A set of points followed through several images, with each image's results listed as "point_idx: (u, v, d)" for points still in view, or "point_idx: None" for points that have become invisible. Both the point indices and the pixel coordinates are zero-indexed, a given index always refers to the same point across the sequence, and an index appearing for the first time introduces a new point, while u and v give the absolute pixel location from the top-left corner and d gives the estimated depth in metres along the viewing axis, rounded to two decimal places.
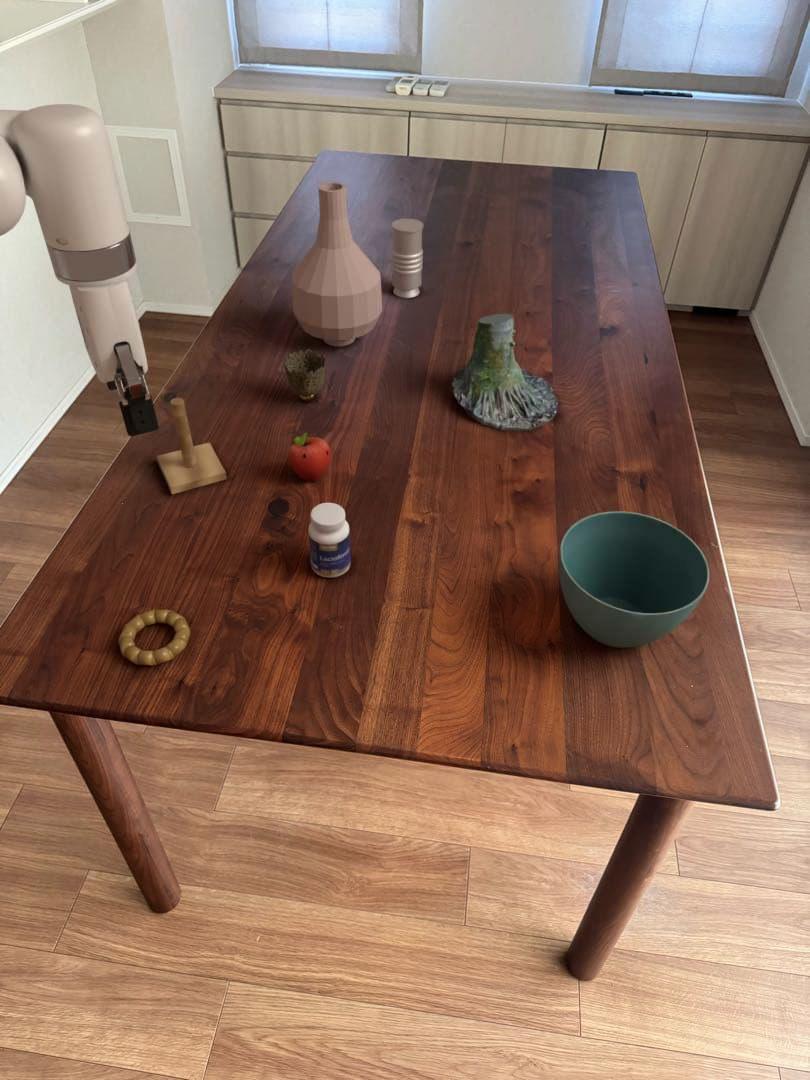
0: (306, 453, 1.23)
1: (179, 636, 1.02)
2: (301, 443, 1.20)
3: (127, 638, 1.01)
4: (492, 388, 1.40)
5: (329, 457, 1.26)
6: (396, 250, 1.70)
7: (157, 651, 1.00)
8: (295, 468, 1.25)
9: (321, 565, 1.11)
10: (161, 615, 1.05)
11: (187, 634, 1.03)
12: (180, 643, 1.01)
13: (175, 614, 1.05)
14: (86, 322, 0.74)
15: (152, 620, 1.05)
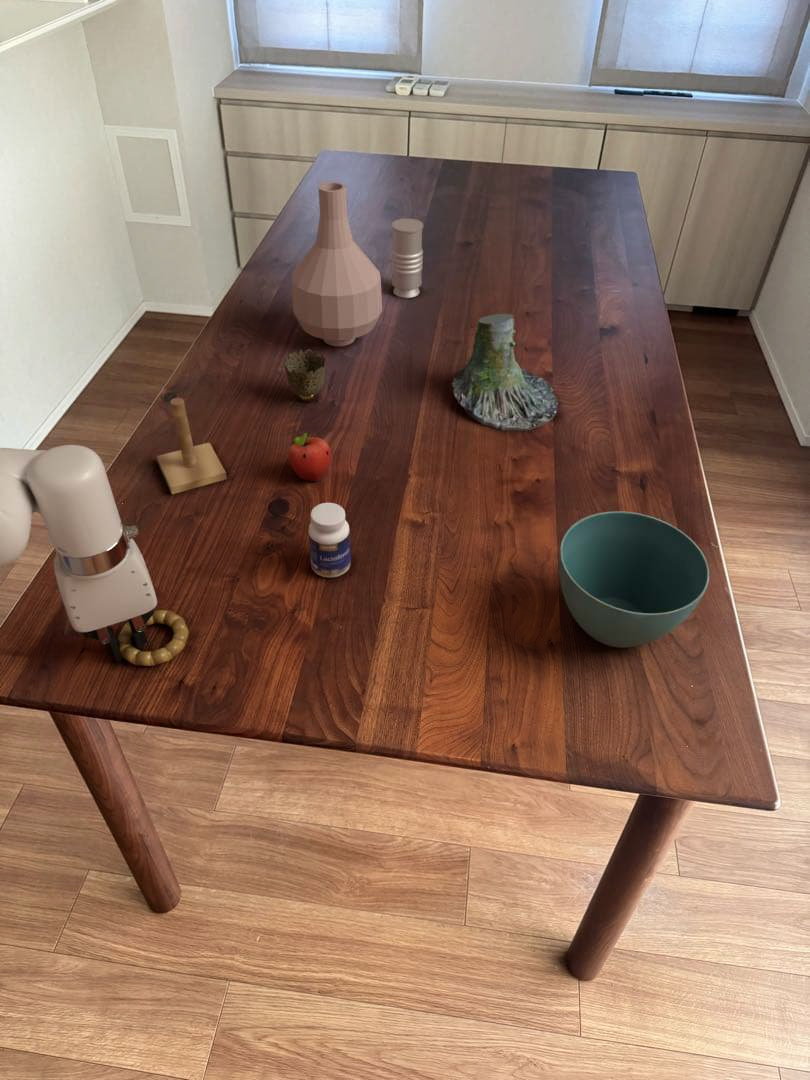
0: (306, 453, 1.23)
1: (177, 637, 1.02)
2: (301, 443, 1.20)
3: (125, 639, 1.01)
4: (492, 388, 1.40)
5: (329, 457, 1.26)
6: (396, 250, 1.70)
7: (155, 652, 1.00)
8: (295, 468, 1.25)
9: (321, 566, 1.11)
10: (159, 616, 1.04)
11: (185, 635, 1.03)
12: (178, 644, 1.01)
13: (173, 614, 1.04)
14: None
15: (150, 621, 1.04)
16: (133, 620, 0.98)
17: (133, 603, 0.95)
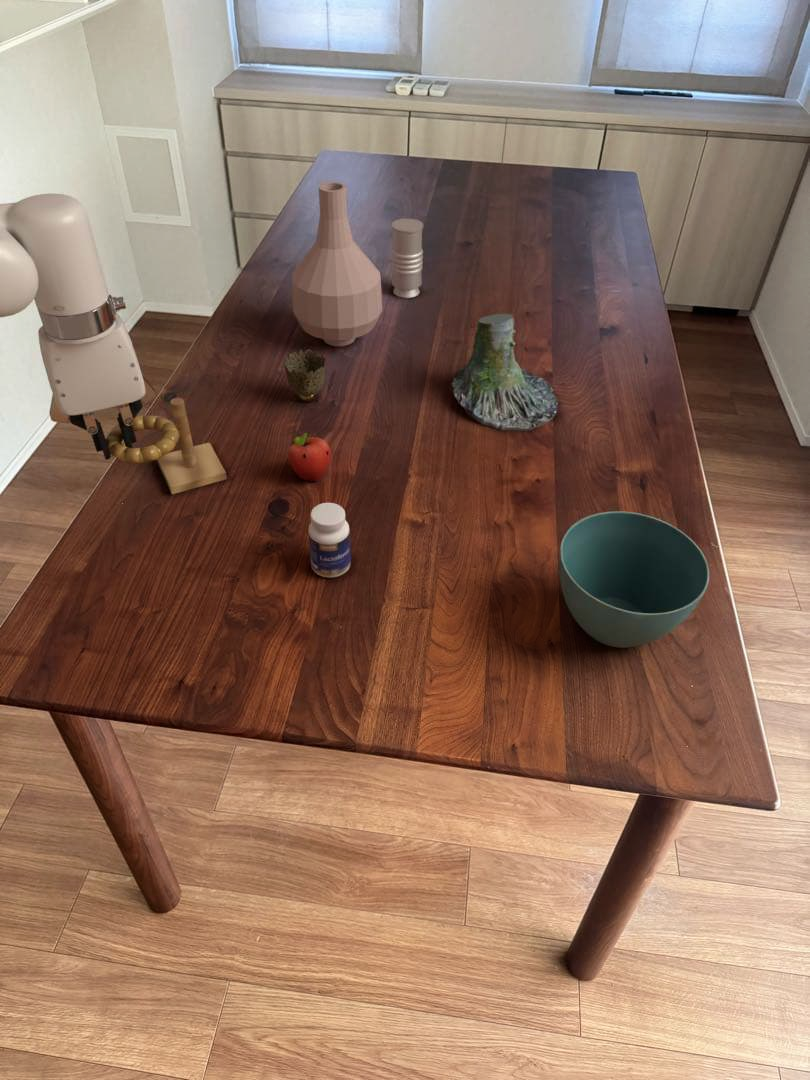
0: (306, 453, 1.23)
1: (167, 436, 0.99)
2: (301, 443, 1.20)
3: (114, 437, 0.99)
4: (492, 388, 1.40)
5: (329, 457, 1.26)
6: (396, 250, 1.70)
7: (144, 447, 0.97)
8: (295, 468, 1.25)
9: (321, 566, 1.11)
10: (150, 420, 1.02)
11: (176, 436, 1.00)
12: (168, 442, 0.99)
13: (164, 419, 1.02)
14: None
15: (141, 425, 1.02)
16: (121, 410, 0.95)
17: (120, 386, 0.92)
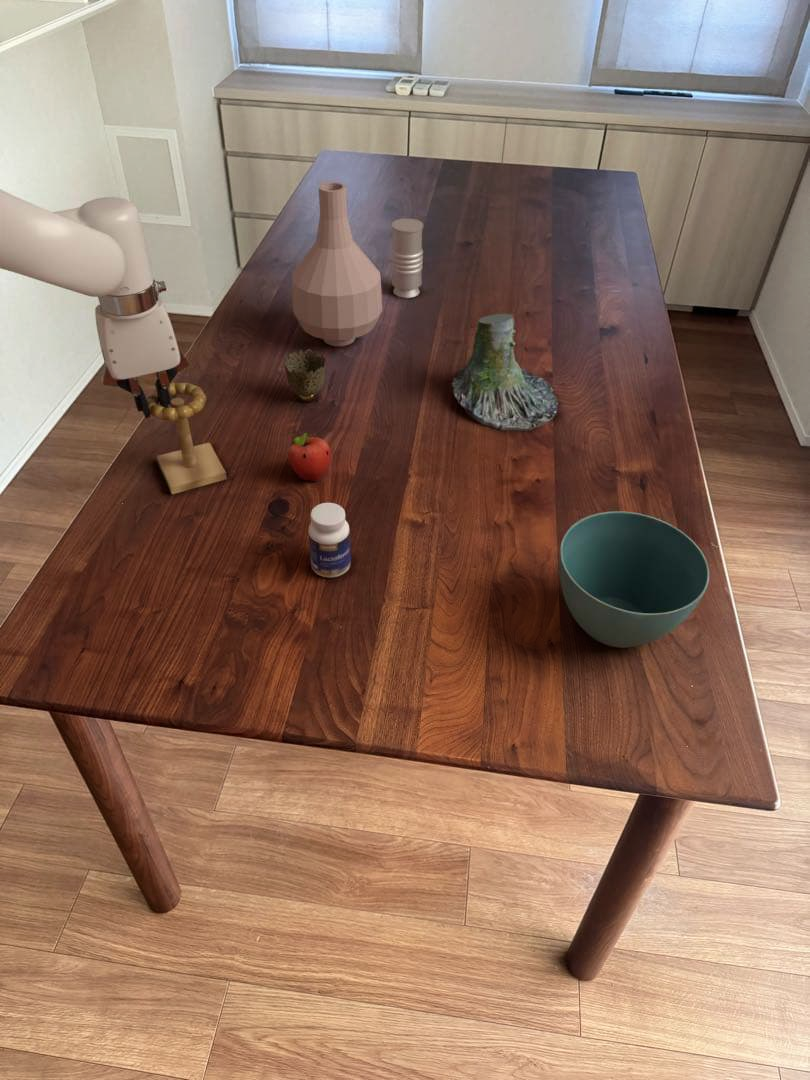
0: (306, 453, 1.23)
1: (197, 398, 1.19)
2: (301, 443, 1.20)
3: (153, 399, 1.19)
4: (492, 388, 1.40)
5: (329, 457, 1.26)
6: (396, 250, 1.70)
7: (179, 407, 1.17)
8: (295, 468, 1.25)
9: (321, 566, 1.11)
10: (181, 386, 1.22)
11: (204, 398, 1.20)
12: (198, 403, 1.19)
13: (193, 385, 1.22)
14: None
15: (173, 390, 1.22)
16: (160, 376, 1.15)
17: (160, 355, 1.12)
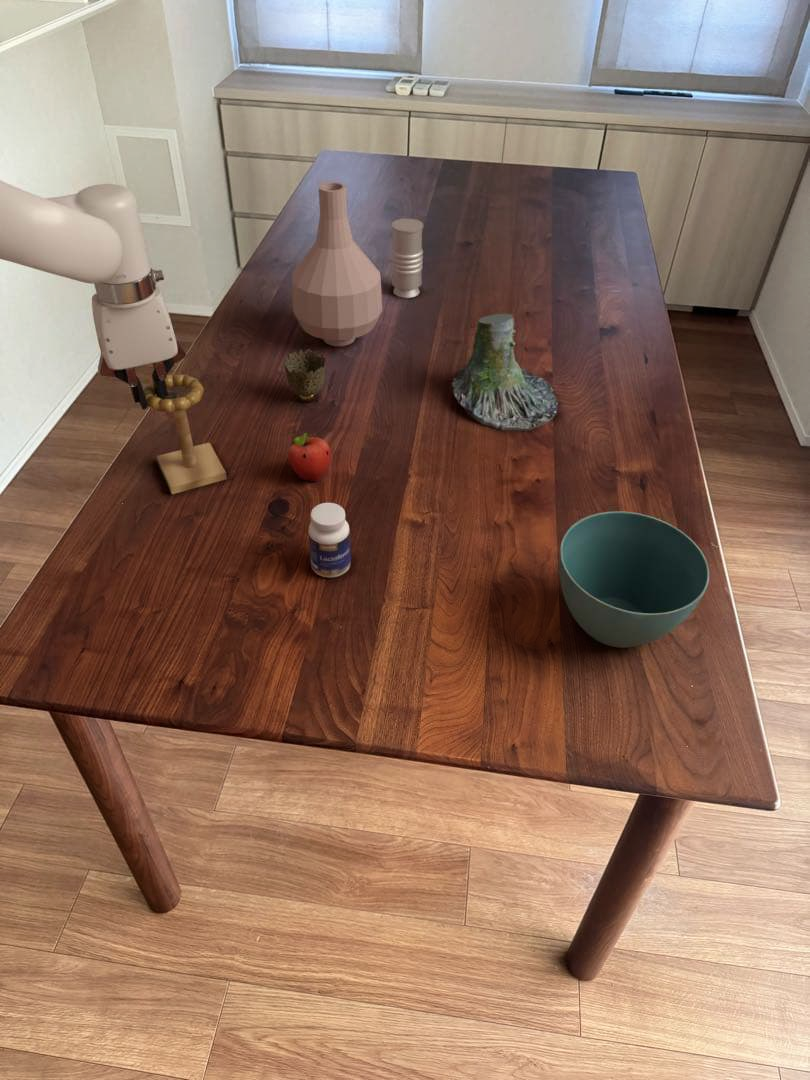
0: (306, 453, 1.23)
1: (194, 390, 1.18)
2: (301, 443, 1.20)
3: (150, 391, 1.18)
4: (492, 388, 1.40)
5: (329, 457, 1.26)
6: (396, 250, 1.70)
7: (176, 399, 1.16)
8: (295, 468, 1.25)
9: (321, 566, 1.11)
10: (178, 377, 1.21)
11: (201, 390, 1.19)
12: (195, 395, 1.18)
13: (190, 377, 1.21)
14: None
15: (170, 382, 1.21)
16: (157, 366, 1.14)
17: (158, 345, 1.11)
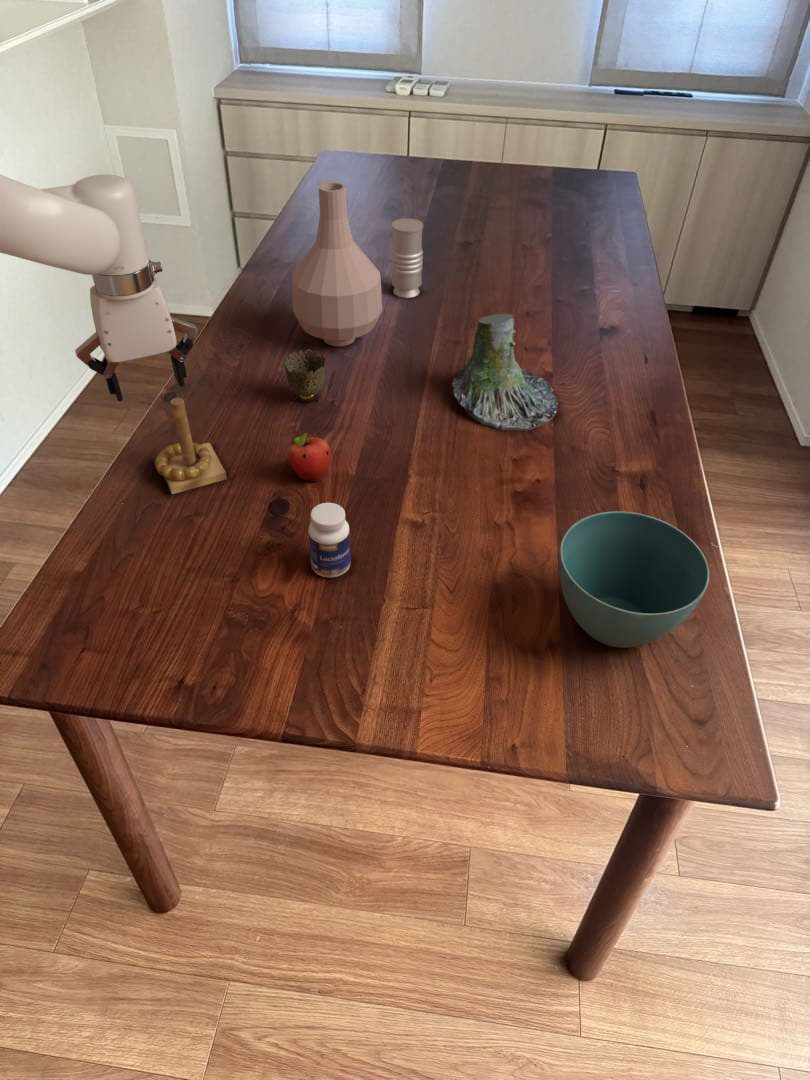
0: (306, 453, 1.23)
1: (203, 459, 1.27)
2: (301, 443, 1.20)
3: (161, 460, 1.26)
4: (492, 388, 1.40)
5: (329, 457, 1.26)
6: (396, 250, 1.70)
7: (186, 468, 1.25)
8: (295, 468, 1.25)
9: (321, 566, 1.11)
10: None
11: (209, 458, 1.27)
12: (204, 464, 1.26)
13: (199, 445, 1.29)
14: None
15: None
16: (170, 353, 1.14)
17: (156, 337, 1.10)
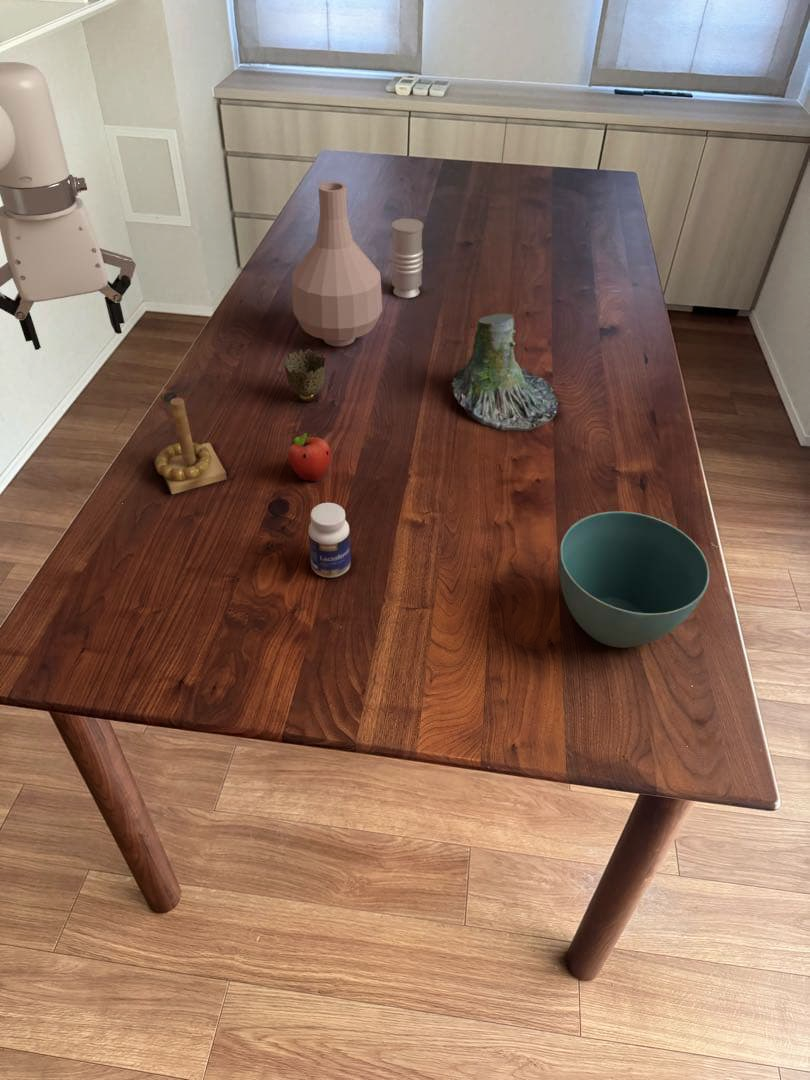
0: (306, 453, 1.23)
1: (203, 459, 1.27)
2: (301, 443, 1.20)
3: (161, 460, 1.26)
4: (492, 388, 1.40)
5: (329, 457, 1.26)
6: (396, 250, 1.70)
7: (186, 468, 1.25)
8: (295, 468, 1.25)
9: (321, 566, 1.11)
10: None
11: (209, 458, 1.27)
12: (204, 464, 1.26)
13: (199, 445, 1.29)
14: None
15: None
16: (102, 292, 0.95)
17: (82, 272, 0.92)
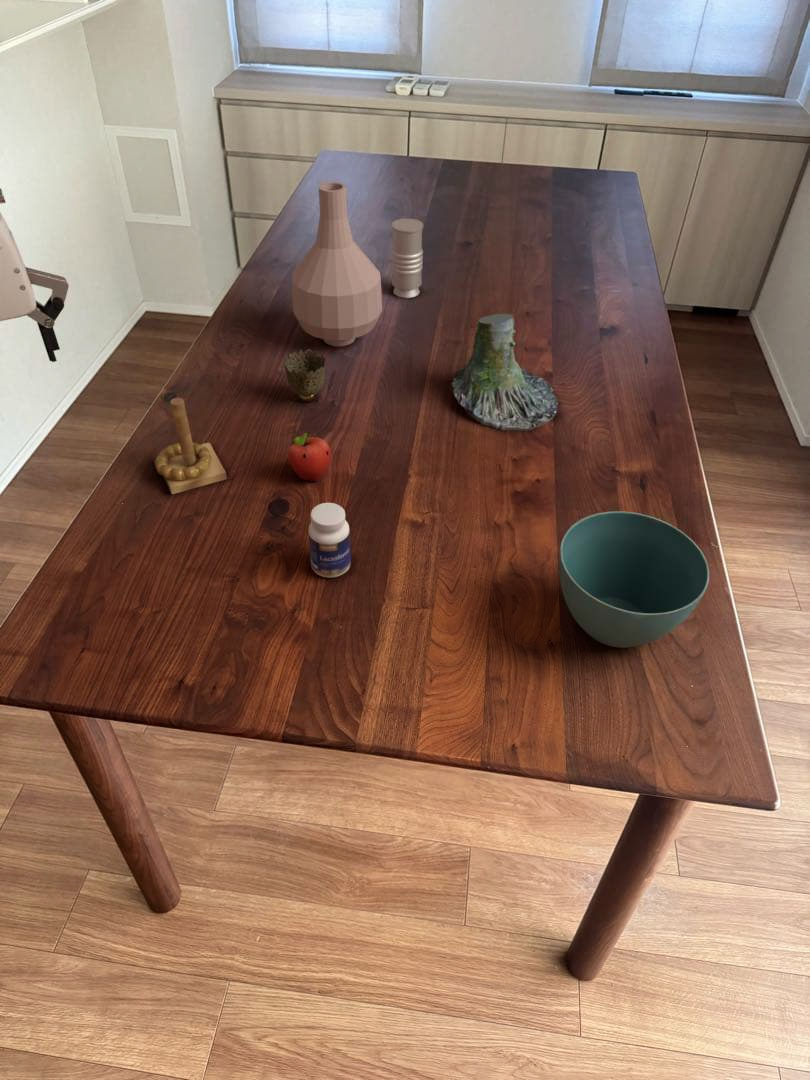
0: (306, 453, 1.23)
1: (203, 459, 1.27)
2: (301, 443, 1.20)
3: (161, 460, 1.26)
4: (492, 388, 1.40)
5: (329, 457, 1.26)
6: (396, 250, 1.70)
7: (186, 468, 1.25)
8: (295, 468, 1.25)
9: (321, 566, 1.11)
10: None
11: (209, 458, 1.27)
12: (204, 464, 1.26)
13: (199, 445, 1.29)
14: None
15: None
16: (31, 316, 0.84)
17: (4, 295, 0.81)
